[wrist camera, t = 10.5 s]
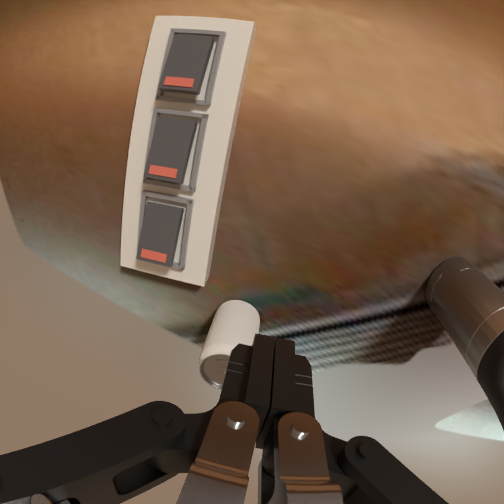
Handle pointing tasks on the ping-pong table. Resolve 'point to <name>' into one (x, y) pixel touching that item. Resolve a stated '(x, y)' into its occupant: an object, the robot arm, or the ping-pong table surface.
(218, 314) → the can
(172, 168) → the rocker
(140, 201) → the switch panel
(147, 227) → the rocker
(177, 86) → the rocker
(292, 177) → the ping-pong table surface
